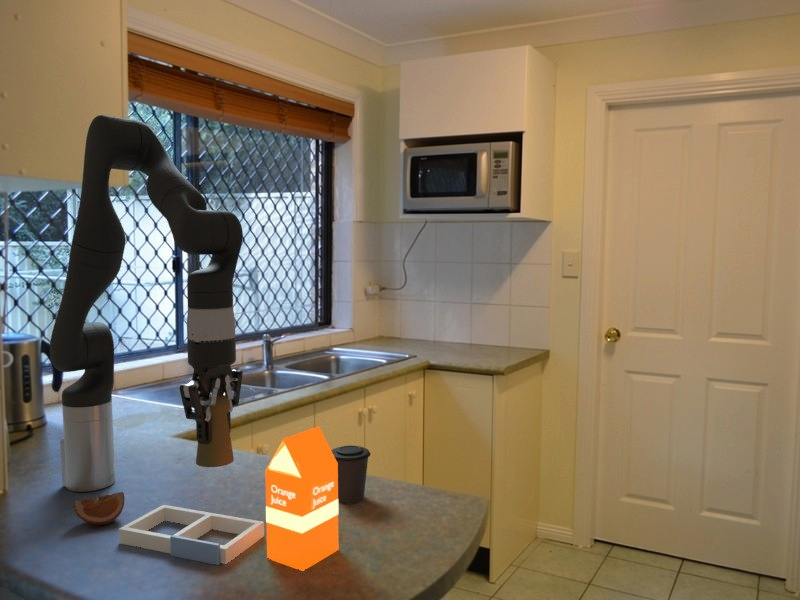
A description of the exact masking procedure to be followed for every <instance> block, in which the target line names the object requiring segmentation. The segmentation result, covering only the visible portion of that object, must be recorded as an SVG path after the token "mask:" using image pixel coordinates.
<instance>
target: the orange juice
mask: <svg viewBox="0 0 800 600" xmlns="http://www.w3.org/2000/svg"><path fill="white" fill-rule="evenodd" d="M331 450H332V449H331V447H330V445H329V444H328V441H327V439H326V437H325V435H324V433H323V431H322V429H321V427H320V426H319V425H318V426H316V427H312V428H310V429H307V430H305V431H301V432H299V433H296V434H293V435H290V436H287V437H284V438H282V441H281V443H280V444H279V447H278V448H277V449H276V451H275V453H274V455H273V457H272V458H271V460H270V462H269V464H268V465H267V467H266V469H265V470H264V471H265V523H266V559H267V558H269V559H268V560H270V559H271V561H273V562H275V563H276V562H277V563H278V564H282V565H284V566H287V567H291V568H293V569H295V570H298V569H299V571H302V572H304V571H306V570H307V569H309V568H310V567H313V566H314V565H316V564H317V563H319V562H321V561H323V560H324V559H325V558H327V557H329V556H330V555H332V554H334V553H335V552H337V551H339V550H340V549H339V548H340V547H339V502H338V463H337V461H336V459H335V457H334V455H333V453H332V451H331ZM305 569H306V570H305Z"/></svg>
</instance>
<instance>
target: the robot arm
mask: <svg viewBox="0 0 800 600" xmlns="http://www.w3.org/2000/svg"><path fill="white" fill-rule="evenodd" d="M90 122H91V123H90V125H89V127H88V130H87V134H86V140H85V147H84V155H83V156H84V157H83V170H82V171H83V172H82V184H81V191H80V199H79V205H78V212H77V217H76V221H75V222H76V223H75V226H74V230H73V235H72V239H71V240H72V241H71V246H70V251H69V257H68V258H69V259H68V263H67V264H68V265H67V271H66V276H65V282H64V288H63V292H62V297H61V300H60V304H59V307H58V310H57V315H56V317H55V321H54V324H53V327H52V331H51V337H50V340H49V357H50V361H51V364H52V365H53V367H54V369H56V370H57V371H59V372H63V373H65V372H67V373H68V372H69V373H71V372H77V371H83V370H84V372H83V374H82V375H81V376H80V378H79V379H77V380H76V381H75V382H73V383H72V384H70V385H68V386H67V387H66V388H64V389H63V391H62V392H61V406H62V407H61V408H62V409H61V410H62V424H63V427H62V428H63V439H61V440H60V463H61V481H62V485H61V486H62V487H65V488H66V489H67V490H68V491H72V492H76V493H77V492H78V493H79V492H81V493H83V492H93V491H98V490H102V489H105V488H107V487H110V486H112V485H113V484H114V483H116V471H115V469H116V467H115V446H114V445H115V443H114V422H113V421H114V420H113V418H114V417H113V397H112V395H113V394H112V392H113V389H114V384H115V342H114V337H113V333H112V331H111V329H110V328H109V326H108V325H107V324H105V323H104V322H100V321H99V322H98V321H95V322H86V320H87V317H88V314H89V313H90V311H91V308H92V307H93V306H94V304H95V303H96V302H97V301H98V299H100V298H101V296H102V295H103V294H104V293H105V291H107V290H108V288H109V287H110V286H111V285H112V283H113V282H114V281H115V279H116V278H117V276H118V275H119V272H120V270H121V267H122V264H123V257H124V253H125V249H126V248H125V247H126V242H127V241H126V239H127V236H126V233H125V229H124V227H123V225H122V223H121V220H120V218H119V216H118V213H117V210H115V208H114V205H113V201H112V200H111V199H112V198H111V196H110V176H111V172H112V170H121V171H128V172H130V171H131V172H134V171H135V172H136V171H138V172H141V173H143V174H145V175H146V176H147V180H146V193H147V196H148V199H149V200H150V202H151V204H152V205H153V206H154V207H155V209H156V210H157V211H158V212H159V213H160V214H161V215H162V216H163V217H164V218H165V220H166V222H167V223H168V227H169V228H170V231H171V235H172V237H173V241H174V243H175V245H176V247H177V248H178V249H179V250H180V251H183V252H184V253H186V254H188V255H193V256H206V255H211V258H210V260H209V263H208V264H207V266H206V267H204V268H201V269H198V270H194V271H193V272H190V273H189V275H188V276H187V282H186V283H187V284H186V285H187V286H186V287H187V290H186V291H187V316H186V340H187V341H186V342H187V343H186V344H187V363H188V365H189V366H191V367H192V369H193V371H192V377H191V381H190V382H188V383H187V384H185V383H181V384H180V386H179V392H180V398H181V402H182V406H183V410H184V415H185V417H186V419H187V420H192V421H194V422H195V425H196V426H195V428H196V430H195V431H196V440H197V444H198V443H201V444H209V443H211V441H212V439H211V421H209V420H210V418H211V407H213V406H215V403H216V397H217V396H219V395H225V396H227V397H228V399H229V401H230V410H229V412H228V413H227V419H228V425H229V432H230V433H231V427H232V425H231V424H232V423H231V421H232V420H231V417H232V416H231V413H232V411H234V410H233V409H234V407H237V406H239V402H240V397H241V388H242V382H243V375H244V373H243V371H242V370H240V369H239V370H238V369H237V370H236V369H233V368H232V367H231V365H234V364H235V363H236V362H237V349H236V348H237V347H236V345H237V344H236V343H237V341H236V340H237V339H236V338H237V336H236V319H235V313H234V290H233V289H234V287H233V286H234V285H233V284H234V283H233V282H234V278H235V277H234V276H235V273H236V269H237V265H238V262H239V261H238V260H239V256H240V254H241V249H242V246H243V240H244V239H243V238H244V237H243V236H244V234H243V233H244V231H243V226H242V224H241V222H240V219H239V218H238V216H236V214H234V213H233V212H232V211H230V210H229V211H228V210H217V209H216V210H215V209H213V210H210V209H209V210H208V207H207V201H206V199H205V197H204V195H203V194H202V193H201V192H200V191H199V190H198V189H197V188H196V187H195V186H194V185H193V184H192V183H191V182H190V181H189V180H188V179H187V178H186V177H185V176H184V175H183V174H182V173H181V172H180V171H179V169H178V168H177V166H176V165H175V164H174V162H173V160H172V158H171V157H170V155H169V153H168V152H167V149H165V147H164V145H163V144H162V142H161V141H160V139H159V138H158V135H157V134H156V132H154V130H153V129H152V128H151V126H149V125H148V124H147V123H145V122H142V121H139V120H137V119H136V120H135V119H129V118H123V117H117V116H112V115H102V114H100V115H97V116H95V117H94V118H93V119H92V121H90ZM232 391H233V392H232ZM201 397H202V398H205V399H209V400H208V401H201ZM201 405H203V406H205V411H204V413H203V411H202V406H201ZM193 409H194V410H193Z"/></svg>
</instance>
